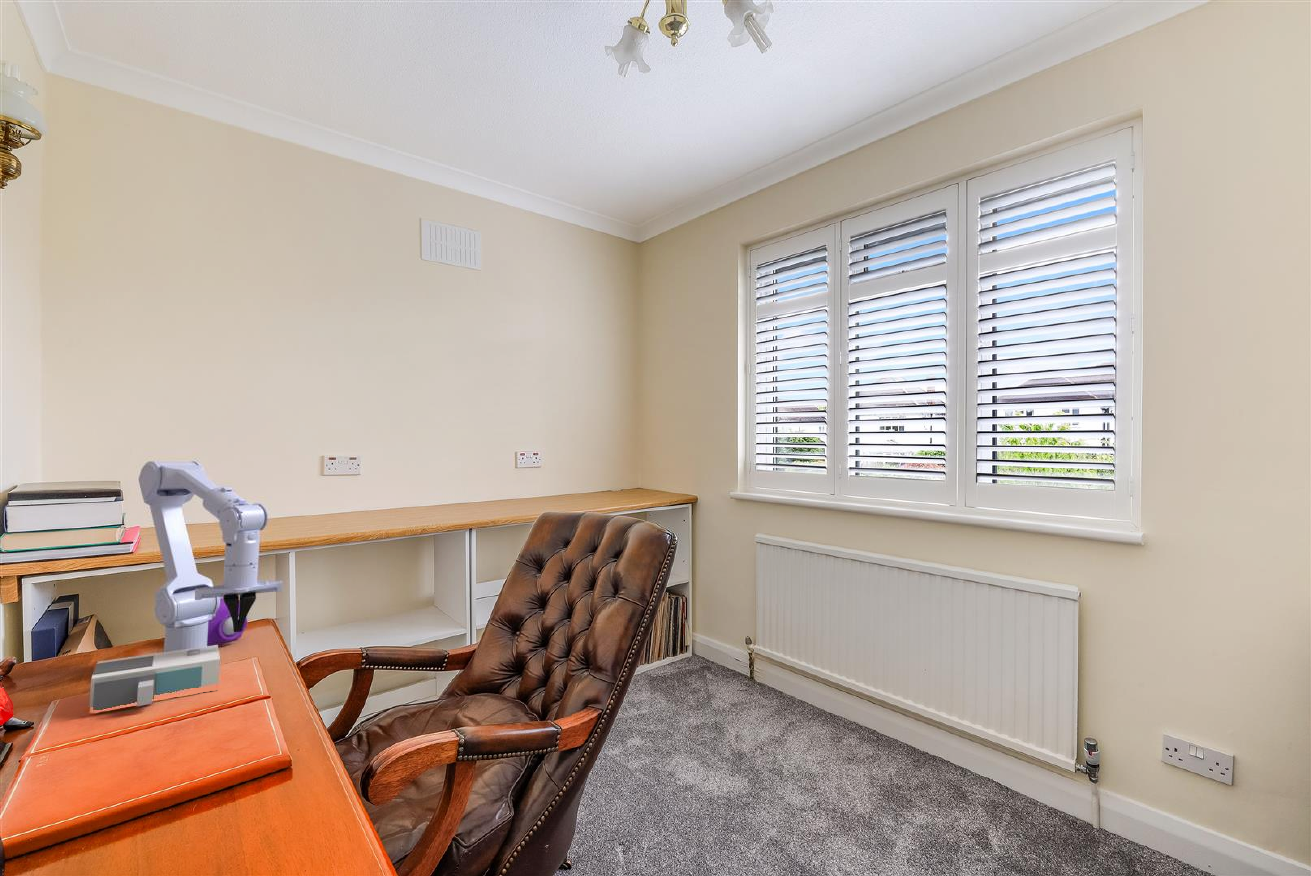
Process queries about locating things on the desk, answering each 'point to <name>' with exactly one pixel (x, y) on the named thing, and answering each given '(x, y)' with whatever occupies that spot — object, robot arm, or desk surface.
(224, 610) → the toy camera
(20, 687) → the desk surface
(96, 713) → the desk surface
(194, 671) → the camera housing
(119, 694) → the side door
